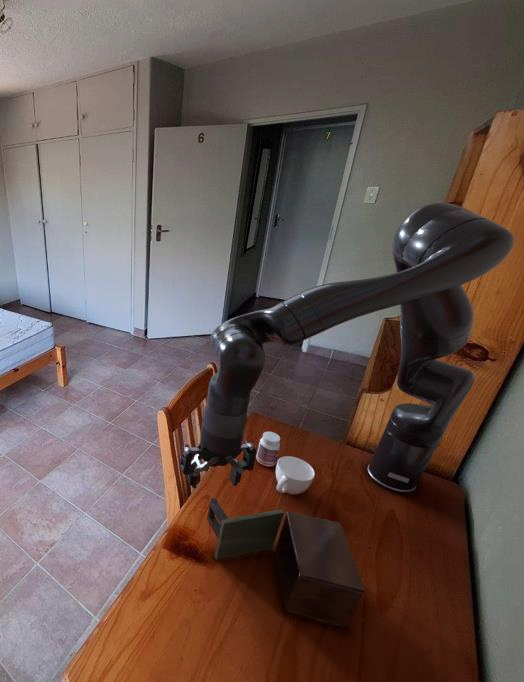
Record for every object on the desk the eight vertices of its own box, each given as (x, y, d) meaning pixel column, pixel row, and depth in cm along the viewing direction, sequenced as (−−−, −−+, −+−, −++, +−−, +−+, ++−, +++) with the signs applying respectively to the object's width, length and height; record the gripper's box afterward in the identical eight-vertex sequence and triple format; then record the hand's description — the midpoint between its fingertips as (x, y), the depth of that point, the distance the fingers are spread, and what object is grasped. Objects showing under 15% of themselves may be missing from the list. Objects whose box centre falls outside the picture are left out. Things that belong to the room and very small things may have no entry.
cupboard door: (200, 529, 80) (206, 494, 75) (252, 519, 82) (261, 484, 77) (216, 559, 74) (224, 523, 69) (272, 548, 76) (284, 512, 71)
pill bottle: (277, 467, 95) (284, 443, 91) (258, 465, 96) (264, 441, 92) (272, 454, 99) (278, 431, 95) (253, 453, 100) (259, 429, 96)
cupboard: (286, 612, 65) (301, 574, 60) (274, 548, 76) (286, 511, 71) (344, 629, 63) (365, 590, 57) (324, 560, 73) (340, 522, 68)
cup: (314, 490, 88) (321, 470, 85) (291, 511, 83) (297, 490, 80) (282, 470, 94) (288, 451, 91) (260, 488, 89) (265, 469, 86)
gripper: (192, 439, 65) (185, 501, 73) (270, 434, 65) (255, 496, 72) (180, 413, 72) (174, 472, 79) (251, 409, 72) (238, 468, 79)
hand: (213, 483), depth 76 cm, fingers open, 8 cm apart
